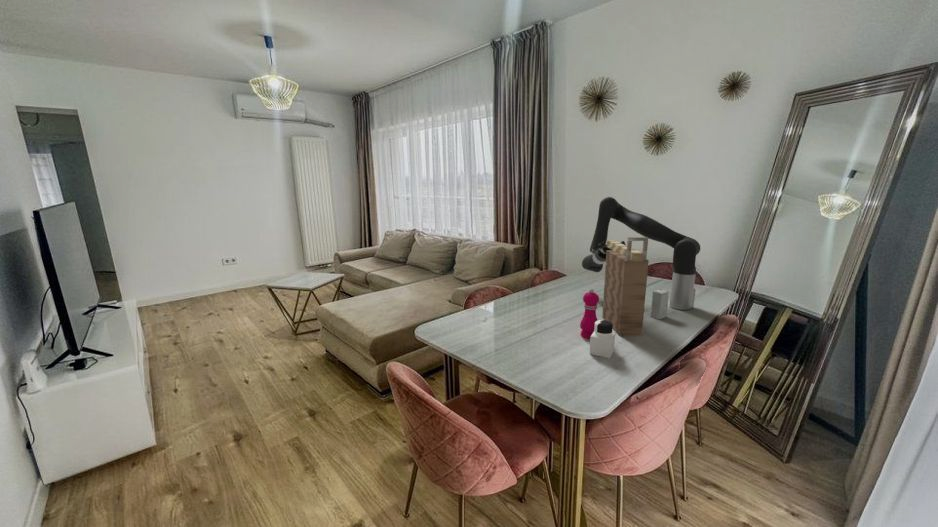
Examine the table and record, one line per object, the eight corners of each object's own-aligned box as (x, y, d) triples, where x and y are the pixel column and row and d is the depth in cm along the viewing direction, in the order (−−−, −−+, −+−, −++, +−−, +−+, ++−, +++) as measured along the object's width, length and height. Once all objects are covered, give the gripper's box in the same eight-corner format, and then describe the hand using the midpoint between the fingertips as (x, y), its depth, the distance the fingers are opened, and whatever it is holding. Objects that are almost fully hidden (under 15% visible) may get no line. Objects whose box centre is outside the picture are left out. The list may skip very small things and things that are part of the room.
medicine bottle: (614, 351, 132) (616, 320, 129) (610, 359, 126) (612, 327, 123) (594, 346, 136) (596, 316, 133) (589, 354, 130) (591, 323, 127)
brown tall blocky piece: (602, 317, 164) (607, 230, 155) (622, 316, 164) (629, 230, 155) (619, 335, 144) (626, 238, 135) (641, 335, 144) (650, 237, 135)
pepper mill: (589, 341, 140) (591, 292, 135) (575, 334, 146) (577, 287, 142) (602, 337, 143) (605, 289, 139) (588, 331, 149) (591, 285, 145)
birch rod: (606, 246, 165) (606, 240, 164) (613, 246, 165) (614, 240, 164) (634, 261, 136) (634, 253, 135) (642, 261, 136) (643, 253, 135)
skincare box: (659, 319, 159) (662, 293, 157) (649, 316, 163) (652, 291, 160) (667, 316, 163) (669, 291, 160) (657, 313, 166) (659, 288, 164)
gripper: (586, 247, 177) (596, 235, 161) (616, 247, 176) (629, 235, 161) (588, 262, 175) (598, 251, 159) (618, 261, 174) (631, 250, 159)
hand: (614, 243), depth 160 cm, fingers open, 8 cm apart
